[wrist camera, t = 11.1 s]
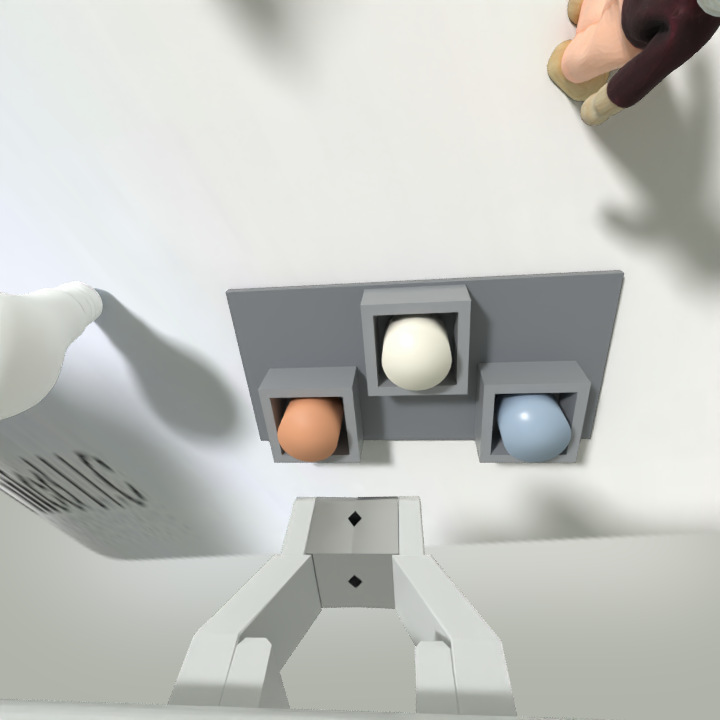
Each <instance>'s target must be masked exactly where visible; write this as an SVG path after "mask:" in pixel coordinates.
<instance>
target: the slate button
mask: <svg viewBox="0 0 720 720" xmlns="http://www.w3.org/2000/svg"><path fill="white" fill-rule="evenodd" d="M494 413H495V416H496V420H497V423H498V426H499V430H500V433H501V437H502V440H503V443H504V446H505V448H506V450H507V451H508V453H509V454H510V455H512V456H513V457H514V458H516V459H519V460H521V461H525V462H542V461H546V460H549V459H552V458H554V457H556V456H557V455H559V454H560V453H561V452H562V451H563V450H564V449H565V448H566V447H567V445H568V444H569V442H570V439H571V429H570V426H569V424H568V422H567V420H566V418H565V416H564V414H563V412H562V411H561V409H560V407H559V405H558V403H557V401H556V399H555V397H554V395H553V394H552V393H511V394H499V395H498V397H497V399H496V401H495V404H494Z"/></svg>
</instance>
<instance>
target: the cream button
mask: <svg viewBox="0 0 720 720" xmlns="http://www.w3.org/2000/svg"><path fill="white" fill-rule="evenodd" d="M451 363H452V356H451V351H450V345H449V340H448V335H447V330H446V326H445V324H444V322H443V320H442V319H441V318H440V317H439V316H438V315H437V314H436V313H424V314H399V315H394V316H393V317H392V318H391V319H390V320H389V322H388V324H387V326H386V329H385V333H384V343H383V352H382V367H383V370H384V372H385V374H386V376H387V377H388V378H389V379H390V380H391V381H392V382H393V383H394V384H396V385H397V386H399V387H401V388H404V389H407V390H415V391H418V390H426V389H429V388H432V387H434V386H436V385H437V384H439V383H440V382H441V381H442V380H443V379H444V378H445V377H446V376H447V374H448V373H449V370H450V368H451Z"/></svg>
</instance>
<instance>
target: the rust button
mask: <svg viewBox="0 0 720 720" xmlns="http://www.w3.org/2000/svg"><path fill="white" fill-rule="evenodd" d="M343 416H344V407H343V404H342V402H341V400H340V398H339V397H291V399H290V402H289V404H288V406H287V409H286V411H285V414H284V416H283V418H282V421H281V423H280V426H279V428H278V432H277V436H278V441H279V443H280V445H281V447H282V448H283V450H284V451H285V452H286V453H288V454H289V455H290V456H292V457H294V458H296V459H298V460H301V461H306V462H317V461H321V460H324V459H326V458H328V457H329V456H331V455H332V454H333V452H334V451H335V449H336V447H337V443H338V439H339V434H340V429H341V425H342V420H343Z"/></svg>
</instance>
